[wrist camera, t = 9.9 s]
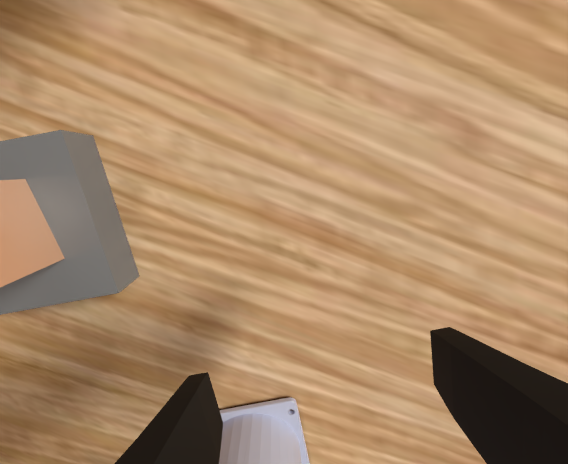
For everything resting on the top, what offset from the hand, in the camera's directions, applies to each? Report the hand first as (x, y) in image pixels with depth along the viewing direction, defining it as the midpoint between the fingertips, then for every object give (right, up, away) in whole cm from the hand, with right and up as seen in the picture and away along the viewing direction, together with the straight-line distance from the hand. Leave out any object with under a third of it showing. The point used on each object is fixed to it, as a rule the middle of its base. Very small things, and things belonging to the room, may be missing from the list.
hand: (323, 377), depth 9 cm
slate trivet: (-16, +5, +9) cm, 19 cm away
